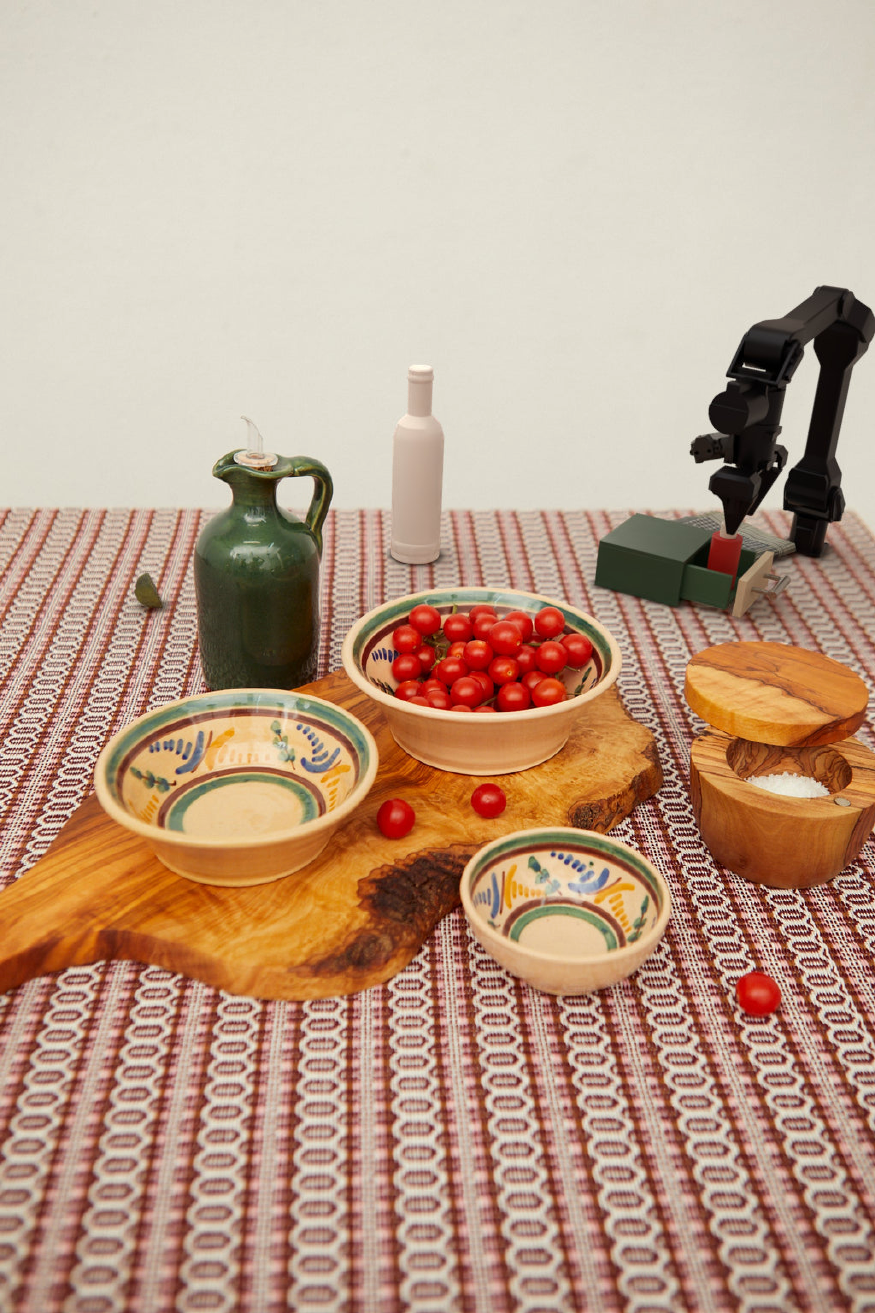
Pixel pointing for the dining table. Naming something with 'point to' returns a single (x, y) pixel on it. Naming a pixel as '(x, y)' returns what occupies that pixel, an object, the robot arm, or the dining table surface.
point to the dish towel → (742, 534)
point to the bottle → (417, 475)
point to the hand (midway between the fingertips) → (739, 524)
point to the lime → (147, 592)
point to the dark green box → (648, 557)
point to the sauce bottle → (725, 552)
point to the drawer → (717, 585)
